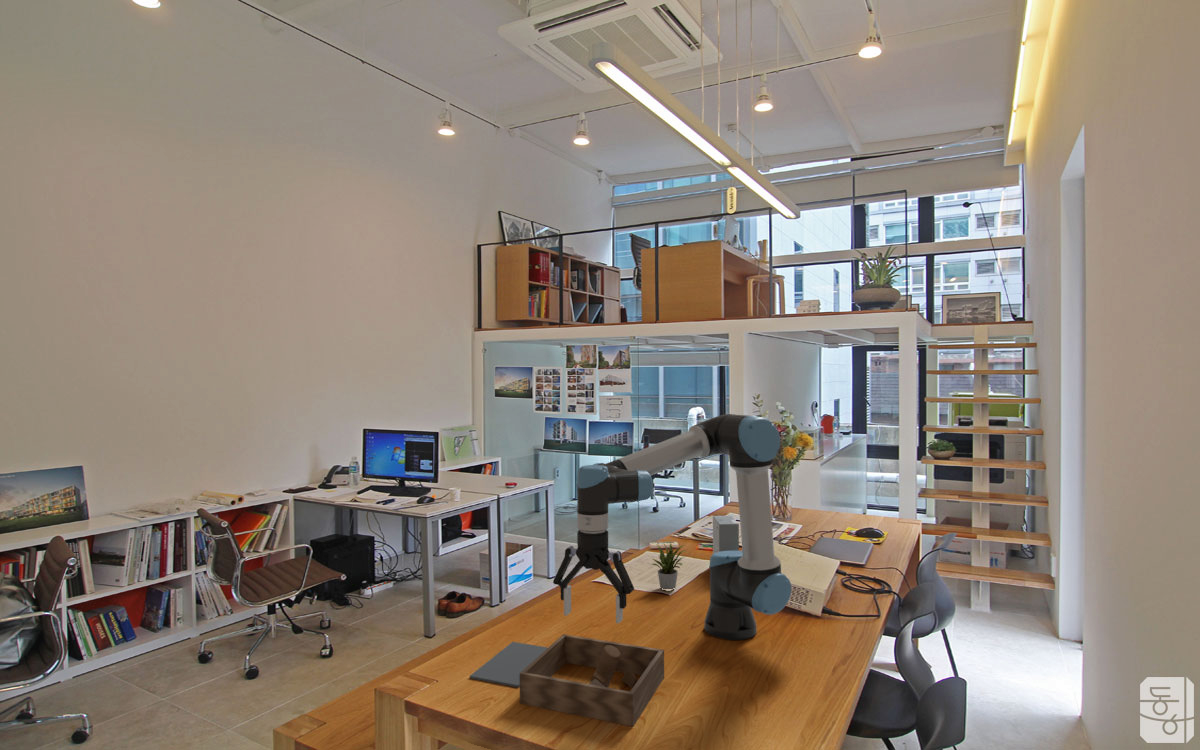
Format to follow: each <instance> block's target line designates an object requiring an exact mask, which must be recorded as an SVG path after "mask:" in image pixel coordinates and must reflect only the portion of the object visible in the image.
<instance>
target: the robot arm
mask: <svg viewBox="0 0 1200 750" xmlns="http://www.w3.org/2000/svg"><path fill="white" fill-rule="evenodd" d="M780 448H781V436H780V432H779V430H778V428H777V426H776V425H775V424H774V423H773V422H772V421H770V419H768V418H766V417H760V416H757V415H749V414H748V415H747V414H746V415H745V414H744V415H743V414H732V413H726V414H721V415H718V416H714V417H712V418H709V419H706V420H704V421H701V422H699V423H696V424H694V425H692V426H690V427H689V429H688V431H686V432H683V433H680V434H678V435H675V436H673V437H670V438H668V439H665V440H664V441H661V442H657V443H655V444H653V445H650V446H649V447H645V448H643V449H640V450H638V451H635V452H632V453H630V454H627V455H625V456H623V457H620V458H617V459H615V460H612V461H610V462H606V463H605V462H596V463H593V464H588V465H587V464H585V465H582V466H580V467H579V468H578V470H577V476H576V497H577V498H576V499H577V501H576V502H577V518H576V519H577V520H576V521H577V523H576V525H577V526H576V527H577V529H578V530H577V532H576V533H577V536H576V537H577V539H576V541H577V542H576V543H577V548H575V547H574V546H573V545H570V546H568V547H567V548H565V550H564V558H563V560H562V562H561V564H560V565H559V568H558V570H557V572H556V574H555V577H554V579H553V581H552V583H553V584H554V585H557V586H559V588H560V600H561V601H563V616H568V615H569V614H570V613H572V585H569V584H570V582H571V581H572V580H573V579H574V578H575V577H576V576H577V574H578V573H579V572H580V570H581V569H582V568H585V569H587V570H590V569H591V570H594V571H598V570H600V572H601V573H603V575H604V576H605V577H606V578H607V580H608V581H609V582H610V584H611V585H612V587H613V588H614V589H615V591H616V592H617V594H616V595H615V623H616V624H620V623H621V622H622V621H623V620H624V609H625V608H626V607H627V595H630V594H631V593H633V591H634V590H635V586H634V584H633V582H632V580H631V578H630V576H629V574H628V571H627V569H626V567H625V564H624V562H623V560H622V559H623V558H622V552H621V551H620V550H617V551H615V552H611V551H609V531H608V529H609V505H612V504H613V505H614V504H619V503H620V504H624V503H632V502H641V501H646V500H648V499H650V498H651V496H652V494H653V493H654V481H653V479H652V476H653V475H656V474H658V473H660V472H663V471H665V470H668V469H670V468H673V467H676V466H678V465H679V464H682V463H685V462H687V461H690V460H692V459H695V458H697V457H700V458H706V457H710V456H712V455H728V456H729V458H728V459H729V466H730V468H732V470H733V471H735V472H736V473H735V476H736V488H737V500H738V501H737V502H738V513H739V529H740V538H741V550H739V551H721V552H716V553H714V554H713V553H712V554H711V555H710V558H709V565H708V568H709V595H710V596H709V598H710V599H709V606H708V609H707V612H706V616H705V618H704V631H705V632H706V633H707V634H708V635H710V636H711V637H714V638H718V639H722V640H727V641H728V640H729V641H738V640H739V641H740V640H748V639H750V638H753V637H754V636H755V635H757V622H756V618H755V616H754V613H753V611H756V612H758V613H762V614H764V615H770V616H771V615H775V614H777V613H780V612H781V611H782V610H783V609H784V608H785V607H786V604H788V602H789V601H790V598H791V596H792V584H791V581H790V579H789V578H788V577H787V576H786V574H784V573H782V563H781V559H779V558H778V556H776V555H775V547H774V534H773V521H772V519H773V518H772V509H771V508H772V507H771V495H770V494H771V493H770V492H771V491H770V482H769V470H770V468H771V467H772V466H773V465H774V460H773V459H775V457H776V456H777V455H778V451H780ZM575 555H576V556H577V558H578V561H577V563H576V564H575V565H574V567H573V568H572V569H571V571H570V572H569V573H568V574H567V575H566V577H564V576H565V574H566V572H567V569H568V568H569V566H570V563H571V562H572V559H573V557H575ZM609 559H610V560H611V562H613V566H614V568H615V570H616V572H615V571H614V569H613V568H612V566H611V564H610V562H609V561H608V560H609ZM617 574H618V575H617Z"/></svg>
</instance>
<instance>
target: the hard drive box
mask: <svg viewBox="0 0 1200 750" xmlns="http://www.w3.org/2000/svg"><path fill="white" fill-rule="evenodd" d="M739 533H740V523H738V521H736V519H735V518H734V517H733V516H732V515H712V554H714V553H716V552H721V551H740V536H739V535H740V534H739Z"/></svg>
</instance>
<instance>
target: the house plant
mask: <svg viewBox="0 0 1200 750" xmlns="http://www.w3.org/2000/svg"><path fill="white" fill-rule="evenodd" d="M662 544H663V545H664V547H665V551H666V554H665V553H664V550H663V548H661V547H660V546H659V545H658V544H656V546H657V548H658V551H659V560H660V561H659V560H657V559H654V558H652V560H653V561H654V562H655V563H652V564H651V565H653V566H656V567H658V568H659V569H658V570H657V575H658V576H657V577H658V582H659V586H660V587H661V588H663V589H673V588H675V589H676V588H677V587H676V585H677V580H678V573H679V572H678V570H677V569H678V568H679V569H681V567H682V566H683V563H681V561H682V559H683V558H685V557H680V555H681V554H682V553H683V552H687V550H681V549H682V548H683V547H686V546H687V544H684V545H681V546H679V547H678V548H676V549H675V548H674V549H673V544H672V543H669V549H668V547H667V546H666V544H665V543H663V542H662ZM648 550H650V551H651V549H648ZM680 550H681V551H680ZM652 552H653V553H655V551H654V550H652ZM678 552H679V553H678ZM679 557H680V558H679ZM678 558H679V559H678ZM651 565H650V566H651ZM680 566H681V567H680ZM675 568H677V569H675ZM660 587H659V588H660ZM661 588H660V589H661Z"/></svg>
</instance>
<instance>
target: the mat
mask: <svg viewBox="0 0 1200 750" xmlns="http://www.w3.org/2000/svg"><path fill="white" fill-rule="evenodd" d="M548 647H549V646H548ZM548 647H547V646H541V645H534V644H528V643H523V642H517V641H512V642H511V643H510V644H508V645H506V646H505V647H504V648H503V649H501V651H499V652H498V653H497V654H495V655H494V656H492V658H490V659H489V660H488V661H486V662H485V663H484V664H483V665H481V666H480V667H479V668H478V669H477V670H475V671H474V672H473V673H472V674H470V675H469V679H472V680H476V679H477V681H481V680H482V682H487V683H493V684H497V683H498V684H497V685H503V686H507V687H512V688H513V687H514V688H519V689H520V673H521V672H522V671H523V670H524V669H525V668H526V667H527V666H528V665H530V664H531V663H532V662H533V661H534V660H535V659H536V658H537V657H538V656H540V655H541V654H542V653H543V652H544V651H545V650H546V649H547V648H548ZM488 681H489V682H488Z"/></svg>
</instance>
